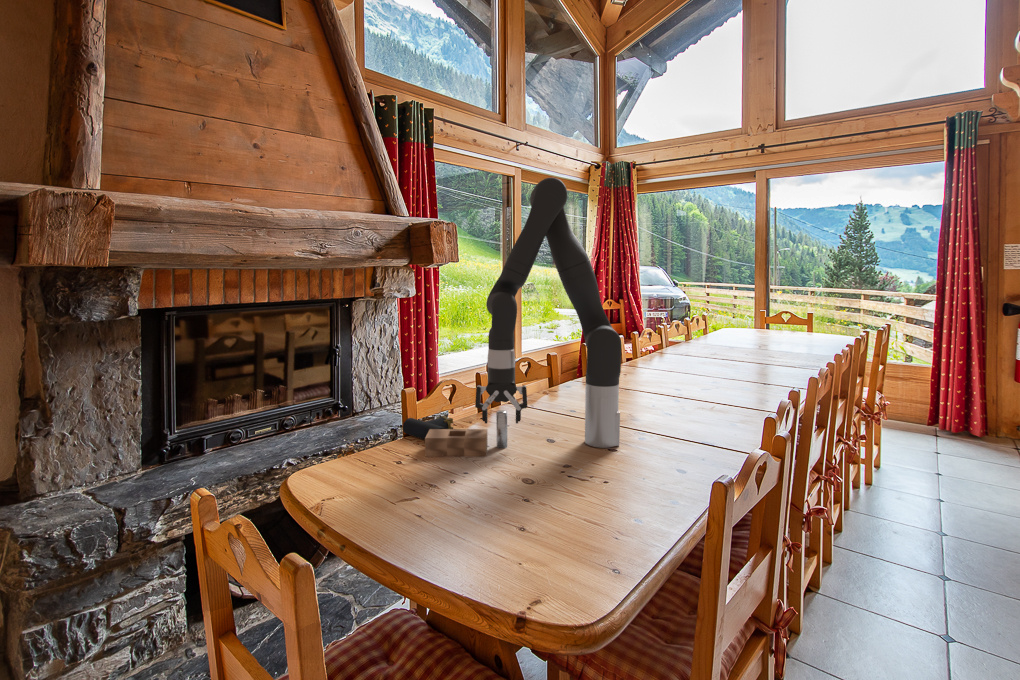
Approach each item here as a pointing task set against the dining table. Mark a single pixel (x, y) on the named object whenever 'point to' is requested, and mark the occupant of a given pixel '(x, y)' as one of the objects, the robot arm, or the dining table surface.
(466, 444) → the socket block
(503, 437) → the pin
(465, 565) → the dining table surface
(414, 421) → the pipe connector
